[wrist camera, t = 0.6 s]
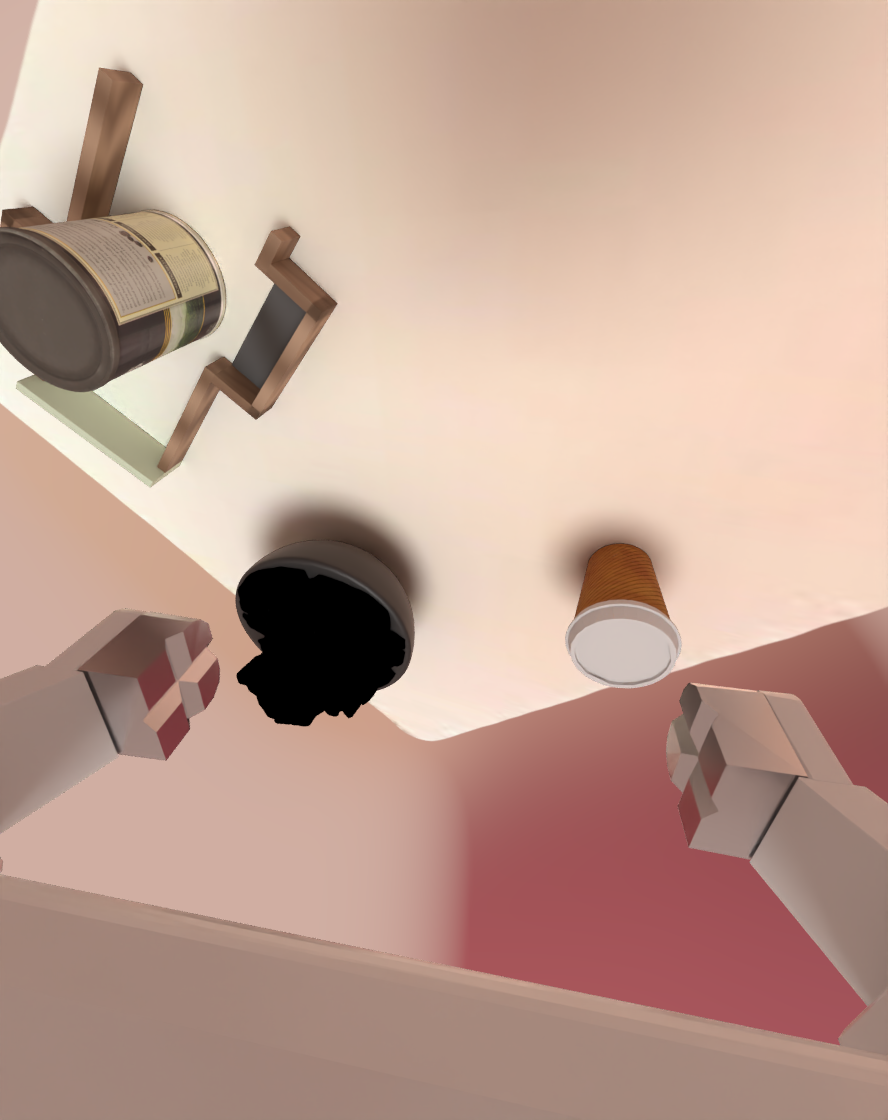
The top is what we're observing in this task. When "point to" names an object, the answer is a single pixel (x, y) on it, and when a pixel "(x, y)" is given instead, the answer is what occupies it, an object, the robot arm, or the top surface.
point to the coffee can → (105, 295)
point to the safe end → (100, 427)
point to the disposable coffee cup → (622, 621)
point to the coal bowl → (322, 630)
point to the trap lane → (294, 296)
